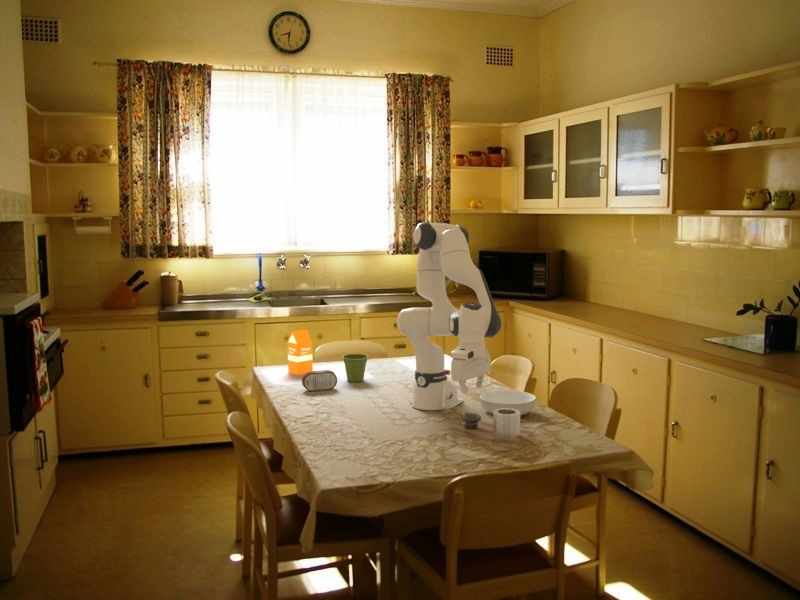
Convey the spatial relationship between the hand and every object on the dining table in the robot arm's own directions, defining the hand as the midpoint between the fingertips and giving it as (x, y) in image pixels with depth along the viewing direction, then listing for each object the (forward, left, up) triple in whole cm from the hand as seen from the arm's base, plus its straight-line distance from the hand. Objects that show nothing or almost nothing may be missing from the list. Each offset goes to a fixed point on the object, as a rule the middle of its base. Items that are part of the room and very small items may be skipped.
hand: (471, 389), depth 259 cm
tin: (-12, -84, -15) cm, 87 cm away
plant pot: (-34, -83, -15) cm, 91 cm away
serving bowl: (-27, -1, -15) cm, 31 cm away
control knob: (0, 0, -14) cm, 14 cm away
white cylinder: (0, +14, -14) cm, 19 cm away
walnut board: (0, +7, -15) cm, 16 cm away
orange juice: (-32, -116, -15) cm, 122 cm away
